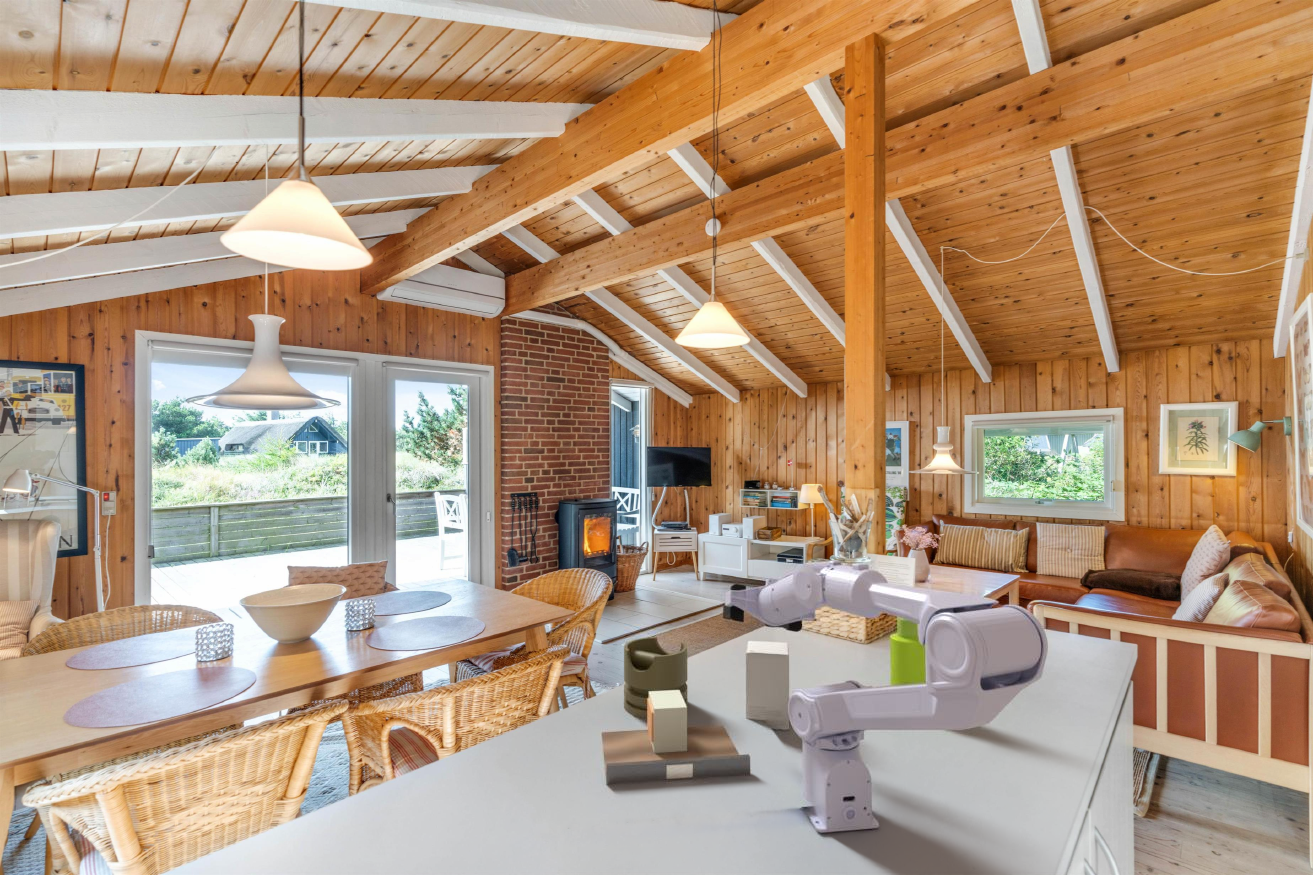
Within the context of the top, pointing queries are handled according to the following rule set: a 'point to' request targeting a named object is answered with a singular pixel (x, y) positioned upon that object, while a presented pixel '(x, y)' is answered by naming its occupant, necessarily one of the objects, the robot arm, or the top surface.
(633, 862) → the top surface
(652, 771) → the rail
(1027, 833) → the top surface
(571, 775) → the top surface
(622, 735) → the shelf board
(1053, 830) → the top surface
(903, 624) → the soap dispenser
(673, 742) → the carton
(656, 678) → the piston
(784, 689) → the supplement box
